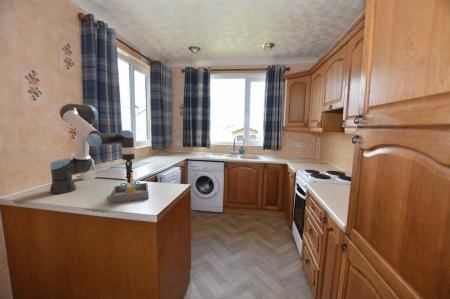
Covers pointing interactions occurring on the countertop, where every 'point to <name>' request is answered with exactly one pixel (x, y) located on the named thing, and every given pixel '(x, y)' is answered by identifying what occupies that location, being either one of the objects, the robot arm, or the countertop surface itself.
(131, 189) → the orange toy
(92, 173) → the clear glass vessel
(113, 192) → the bin
